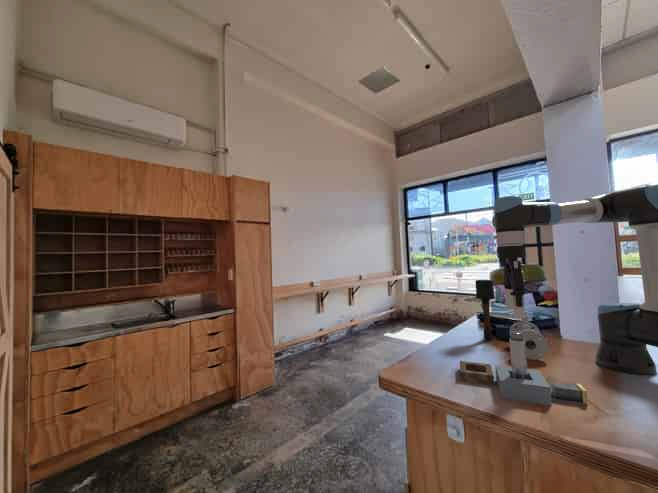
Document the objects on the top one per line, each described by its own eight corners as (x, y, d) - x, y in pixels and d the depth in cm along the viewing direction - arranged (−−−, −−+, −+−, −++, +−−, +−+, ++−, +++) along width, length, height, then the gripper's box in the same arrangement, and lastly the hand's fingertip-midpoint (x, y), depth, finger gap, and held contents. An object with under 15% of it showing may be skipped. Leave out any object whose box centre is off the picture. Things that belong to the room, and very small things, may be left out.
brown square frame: (491, 375, 98) (490, 364, 98) (494, 388, 89) (493, 375, 89) (460, 371, 102) (459, 360, 102) (460, 383, 93) (460, 371, 93)
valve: (550, 362, 107) (547, 323, 107) (514, 357, 113) (511, 321, 113) (539, 345, 126) (537, 312, 127) (509, 342, 132) (506, 311, 132)
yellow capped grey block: (581, 399, 79) (580, 384, 80) (588, 407, 75) (586, 391, 76) (551, 395, 82) (550, 380, 83) (556, 402, 78) (555, 386, 79)
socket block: (572, 393, 83) (570, 373, 84) (589, 414, 72) (587, 392, 73) (496, 383, 92) (495, 365, 92) (501, 401, 81) (500, 380, 81)
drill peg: (527, 389, 85) (522, 331, 86) (530, 395, 81) (525, 335, 82) (512, 387, 87) (507, 330, 87) (514, 393, 83) (509, 334, 84)
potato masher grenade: (501, 342, 131) (496, 280, 132) (481, 342, 133) (477, 281, 134) (494, 337, 139) (490, 279, 141) (476, 337, 141) (472, 279, 142)
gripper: (492, 246, 99) (495, 305, 98) (502, 245, 76) (507, 321, 75) (516, 245, 95) (520, 306, 94) (535, 243, 73) (540, 323, 72)
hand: (514, 313), depth 85 cm, fingers open, 13 cm apart
